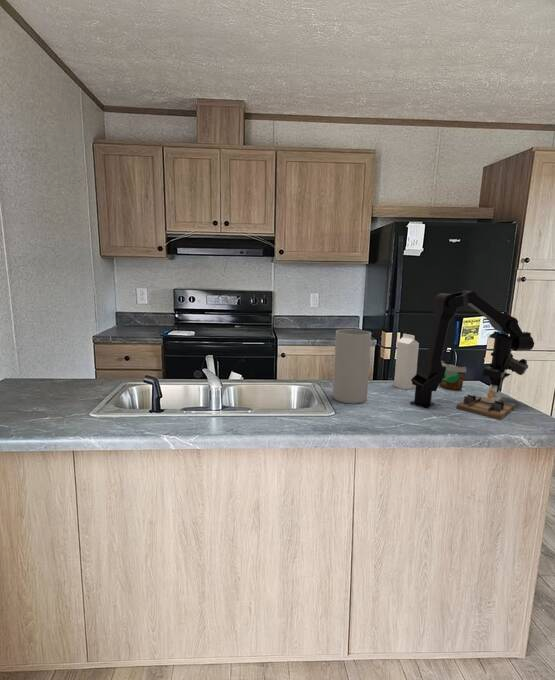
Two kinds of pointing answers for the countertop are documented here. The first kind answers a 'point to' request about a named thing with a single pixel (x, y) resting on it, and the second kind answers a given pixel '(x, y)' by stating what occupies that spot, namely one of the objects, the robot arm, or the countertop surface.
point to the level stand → (485, 407)
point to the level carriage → (491, 395)
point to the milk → (406, 361)
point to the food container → (453, 377)
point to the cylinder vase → (351, 365)
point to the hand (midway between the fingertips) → (496, 392)
